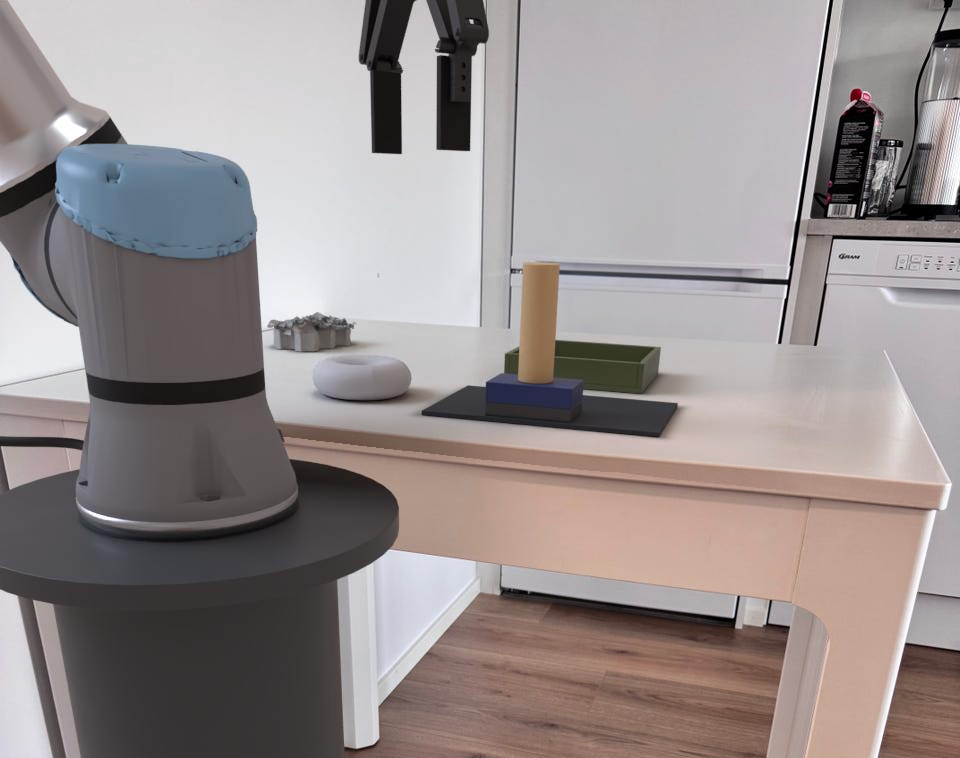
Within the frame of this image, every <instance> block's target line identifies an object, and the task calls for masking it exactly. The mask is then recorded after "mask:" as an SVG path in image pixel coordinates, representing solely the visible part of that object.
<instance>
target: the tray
mask: <svg viewBox="0 0 960 758" xmlns="http://www.w3.org/2000/svg"><path fill="white" fill-rule="evenodd" d="M661 351H662V346H650V345H638V344H637V345H636V344H625V343H623V344H622V343H608V342H593V341H579V340H565V339H555V355H554V372H553V377H554V378H567V379H579V380H584V385H583V390H591V391H603V392H615V393H626V394H627V393H628V394H637V395H639V394H640V395H642V394H643V392H644V391H645V390H646V389H647V388H648V387H649V386H650V385H651V383H652V382H653V381H654V380H655V378H657V376H658V375H659V370H660V369H659V368H660V360H661ZM503 363H504V365H503V366H504V368H503V373H505V374H517V375H518V368H519V346H517V347H515V348H513V349H511V350H509V351H507V352H504V362H503Z"/></svg>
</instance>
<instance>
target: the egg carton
mask: <svg viewBox="0 0 960 758" xmlns="http://www.w3.org/2000/svg"><path fill="white" fill-rule="evenodd" d="M356 325H357V323H356V321H353V322H352V323H349V322H348V321H347V319H346V318H345V317H343V318H342V319H340V318H339V317H336V316H332V315H331V314H330V315H329V316H326V315H324V314H322V313H320V312H319V311H316V312H315V313H313V314H309V315H305V316H302V317H301V318H300V317H299V316H298V315H297V316H295V317H293V318H291V319H285V320H278V319H270V320H269V322H268V324H267V328H269V329H272V328H273V329H272V331H273V333H272V334H273V345H274V347H275V348H276V349H278V350H283V349H286V350H287V349H292V350H295V352H299V353H300V352H318V351H319V350H320V349H335V348H336V346H343V347H344V346H345V347H347V346H351V345H352V340H351V334H352V330H355V326H356Z"/></svg>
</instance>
